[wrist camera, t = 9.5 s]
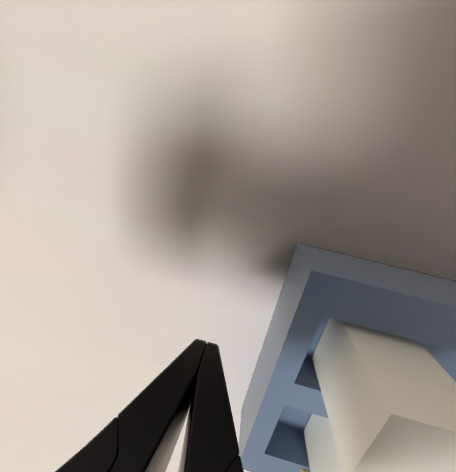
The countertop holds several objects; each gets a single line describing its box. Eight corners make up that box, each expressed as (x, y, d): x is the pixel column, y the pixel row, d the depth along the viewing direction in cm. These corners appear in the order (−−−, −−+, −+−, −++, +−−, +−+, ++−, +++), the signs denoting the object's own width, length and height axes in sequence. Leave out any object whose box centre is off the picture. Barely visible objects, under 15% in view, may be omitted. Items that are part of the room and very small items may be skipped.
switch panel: (494, 484, 13) (563, 576, 10) (241, 408, 14) (237, 472, 11) (658, 330, 10) (843, 406, 6) (297, 243, 11) (312, 272, 8)
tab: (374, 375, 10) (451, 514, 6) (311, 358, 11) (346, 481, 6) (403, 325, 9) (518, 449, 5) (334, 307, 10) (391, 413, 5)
